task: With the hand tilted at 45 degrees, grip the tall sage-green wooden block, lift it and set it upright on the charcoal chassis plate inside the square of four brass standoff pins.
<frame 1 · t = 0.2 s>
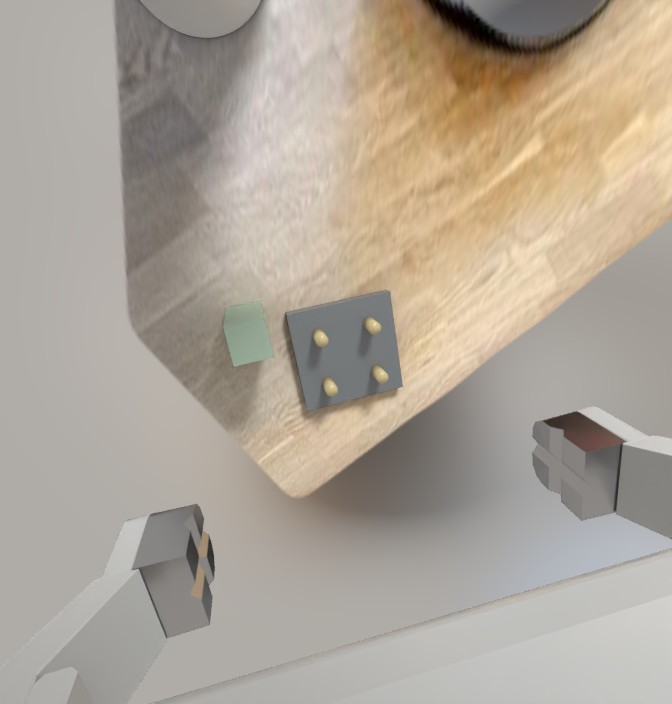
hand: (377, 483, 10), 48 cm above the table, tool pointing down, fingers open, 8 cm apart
chassis plate: (345, 349, 60), on the table
green block: (247, 320, 56), on the table
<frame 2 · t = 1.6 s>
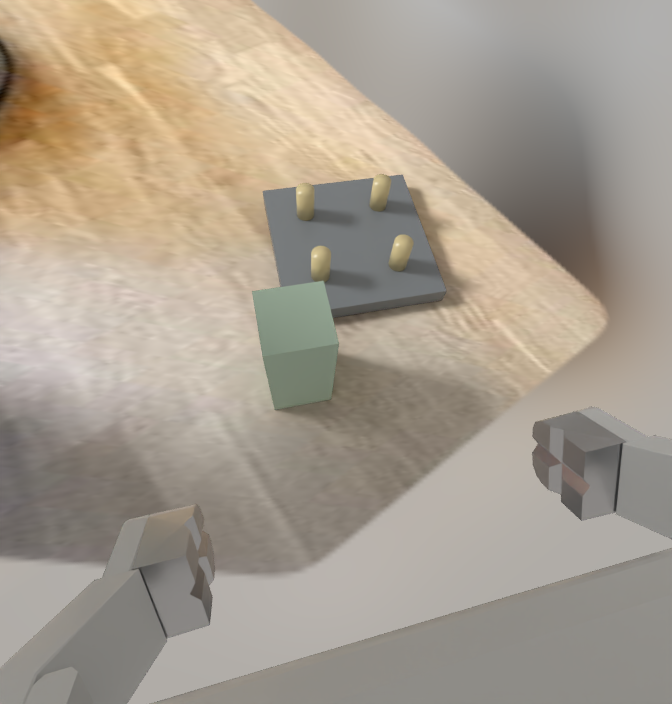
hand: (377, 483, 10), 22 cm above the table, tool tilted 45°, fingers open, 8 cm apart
chassis plate: (349, 249, 41), on the table
green block: (298, 378, 35), on the table
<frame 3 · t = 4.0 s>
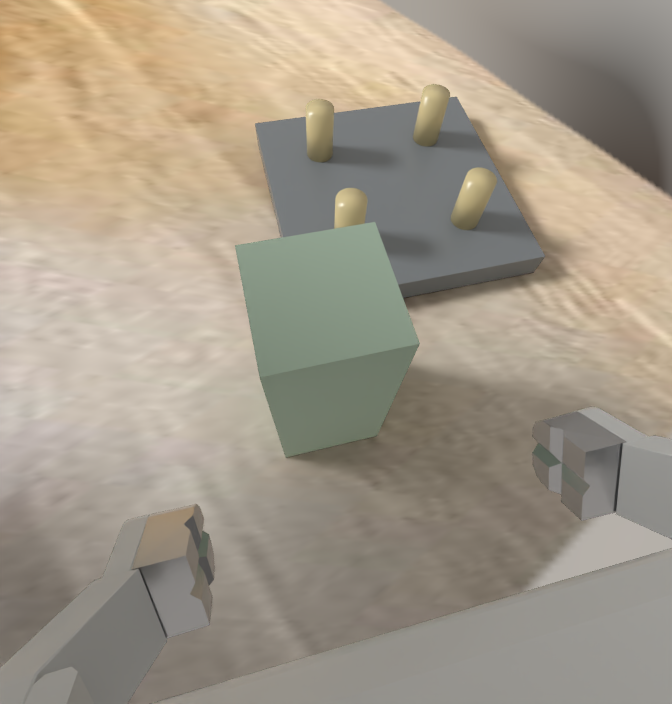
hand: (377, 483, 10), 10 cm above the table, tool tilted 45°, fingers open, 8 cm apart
chassis plate: (386, 203, 28), on the table
green block: (321, 403, 22), on the table
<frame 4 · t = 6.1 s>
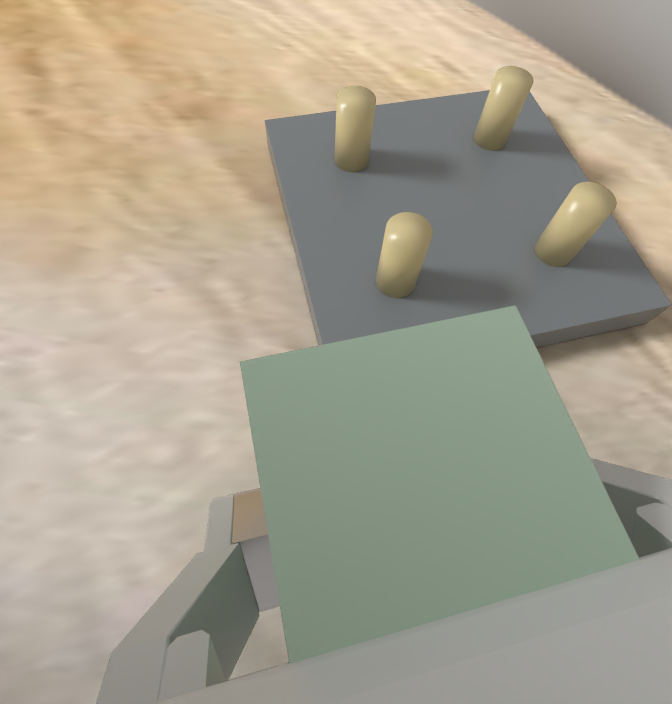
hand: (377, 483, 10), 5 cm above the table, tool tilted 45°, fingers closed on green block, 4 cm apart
chassis plate: (439, 226, 21), on the table
green block: (364, 527, 15), on the table, touching gripper
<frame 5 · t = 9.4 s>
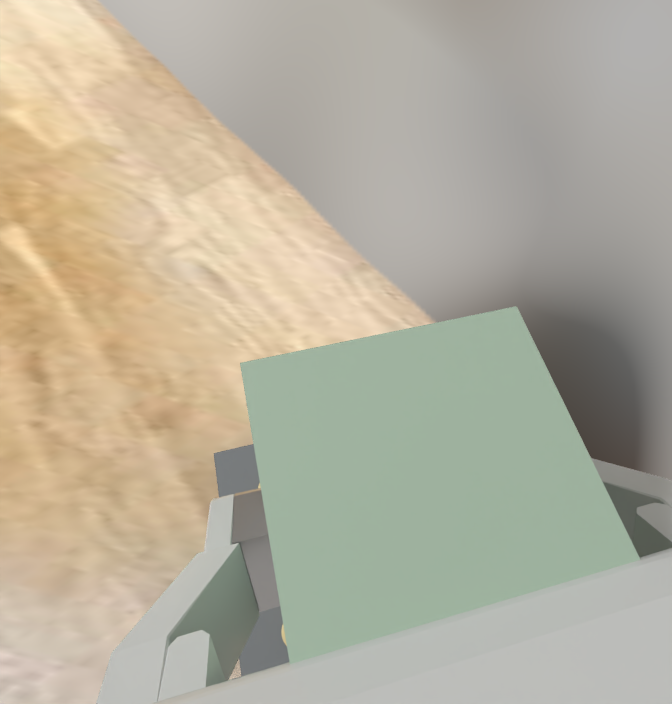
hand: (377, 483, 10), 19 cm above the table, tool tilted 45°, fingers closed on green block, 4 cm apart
chassis plate: (344, 541, 27), on the table
green block: (364, 527, 15), point 14 cm above the table, touching gripper
when the fingers open (9 cm above the table, at t = 12.6 s): green block drops 2 cm, resting on chassis plate.
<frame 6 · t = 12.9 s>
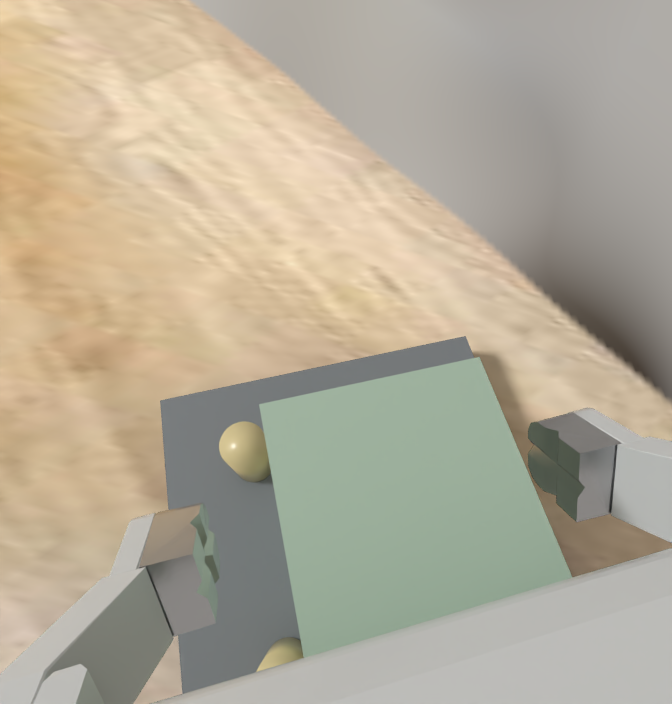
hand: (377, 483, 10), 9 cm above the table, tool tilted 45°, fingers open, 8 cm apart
chassis plate: (357, 532, 18), on the table
green block: (359, 531, 17), point 2 cm above the table, touching chassis plate
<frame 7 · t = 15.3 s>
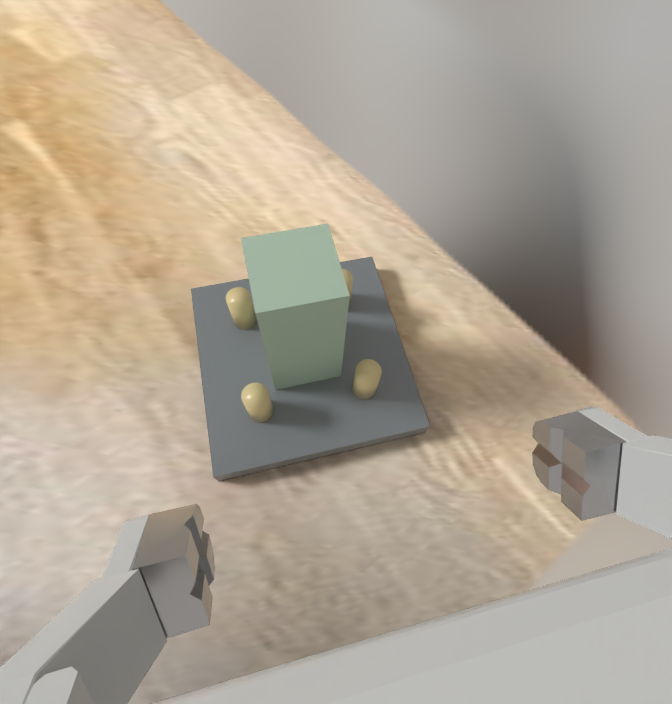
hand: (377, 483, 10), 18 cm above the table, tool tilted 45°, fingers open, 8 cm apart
chassis plate: (303, 361, 32), on the table
green block: (301, 353, 30), point 1 cm above the table, touching chassis plate
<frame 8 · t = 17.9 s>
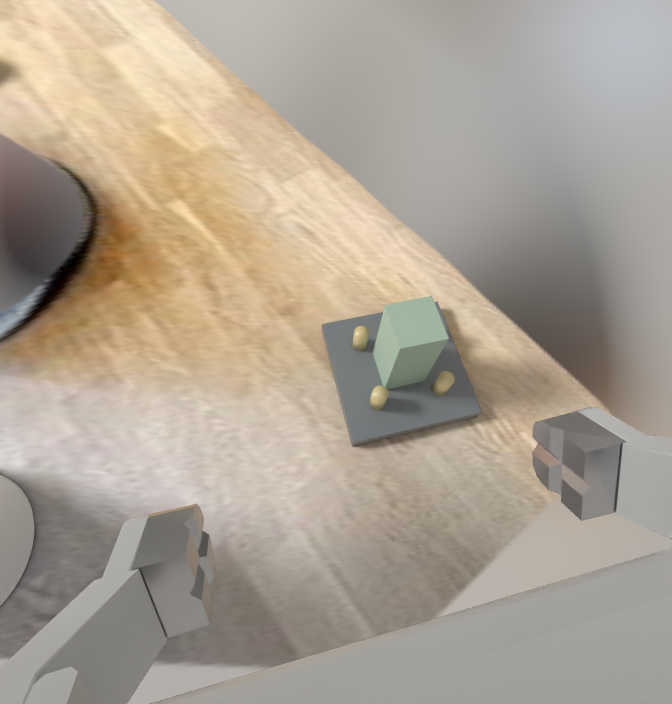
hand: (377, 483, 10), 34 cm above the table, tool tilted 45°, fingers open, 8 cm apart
chassis plate: (396, 371, 49), on the table
green block: (398, 366, 48), point 1 cm above the table, touching chassis plate
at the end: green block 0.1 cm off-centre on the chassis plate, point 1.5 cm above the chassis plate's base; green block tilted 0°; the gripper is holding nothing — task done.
